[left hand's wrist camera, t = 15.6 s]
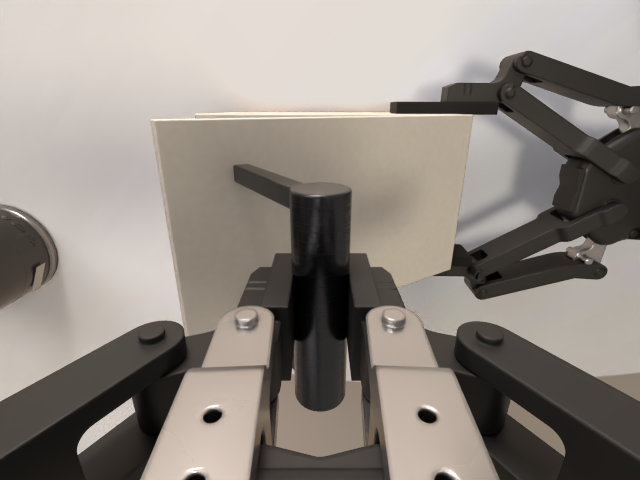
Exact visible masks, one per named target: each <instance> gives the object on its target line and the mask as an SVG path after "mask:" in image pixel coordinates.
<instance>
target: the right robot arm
mask: <svg viewBox="0 0 640 480" xmlns="http://www.w3.org/2000/svg"><path fill="white" fill-rule="evenodd" d="M499 68H500V71H499V73H498V75H497V76H496V78H495V79H494V80H493V81H492V82H491V83H455V84H450V85H447V86H445V87H442V95H441V102H391V104H390V113H392V114H477V115H497V111H498V109H499V110H500V111H502V112H503V113H505V114H506V115H507V116H509V117H510V118H512V119H513V120H515V121H516V122H517V123H519V124H520V125H522V126H523V127H525V128H526V129H527V130H529V131H530V132H532V133H533V134H535V135H536V136H537V137H539V138H540V139H542V140H543V141H545V142H546V143H547V144H549V145H550V146H552V147H553V149H554V150H555V151H556V152H557V153H559V154H560V155H562V156H563V157H565V158H566V159H567V160H568V161H567V163H566V164H562V166H561V170H560V174H559V176H560V185H559V187H558V189H557V191H556V193H555V195H554V199H553V203H552V205H554V206H555V207H552V208H550V209H548V210H546V211H544V212H542V213H540V214H539V215H538V217H537V219H535V220H533V221H531V222H529V223H527V224H525V225H523V226H521V227H519V228H517V229H514V230H512V231H510V232H508V233H506V234H504V235H502V236H500V237H498V238H496V239H494V240H492V241H490V242H488V243H486V244H484V245H481V246H479V247H477V248H475V249H473V250H471V251H469V252H467V251H466V250H465V249H464V248H463V247H462V246H461V245H460V244H454V249H453V256H452V262H451V269H450V270H447V271H444V272H441V273H439V274H436V275H433V276H464V277H465V278H464V281H465V283H466V285H467V286H468V287H469V289H470V290H471V291H472V293H473V294H474V295H475V296H476V298H478V299H480V300H482V299H488V298H492V297H496V296H500V295H505V294H509V293H513V292H517V291H522V290H526V289H530V288H535V287H539V286H543V285H547V284H552V283H556V282H560V281H564V280H569V279H573V278H581V279H601V278H603V277H604V276H605V275H606V274H607V268H606V267H605V266H604V265H602V264H600V262H601V259H602V257H603V254H604V251H605V249H606V246H607V245H610V244H613V243H616V242H618V241H621V240H625V239H635V240H640V86H632V87H630V86H627V85H625V84H622V83H619V82H616V81H613V80H611V79H608V78H605V77H602V76H599V75H597V74H594V73H591V72H588V71H585V70H583V69H580V68H577V67H574V66H571V65H569V64H566V63H563V62H560V61H557V60H555V59H552V58H549V57H546V56H544V55H541V54H538V53H535V52H532V51H525V52H521V53H518V54H514V55H511V56H508V57H505V58H504V59H503V60H502V61H501V63H500V66H499ZM522 82H525V83H528V84H531V85H534V86H537V87H540V88H543V89H545V90H548V91H551V92H554V93H557V94H560V95H563V96H566V97H568V98H571V99H574V100H577V101H580V102H583V103H586V104H589V105H593V106H602V107H605V109H604V112H605V113H606V114H607V115H608V117H610V118H612V119H616V120H617V121H618V123H619V128H618V129H615V130H613V131H612V132H610V133H609V134H607V135H605V136H604V137H602V138H600V139H599V140H597V139H595V138H593V137H590V136H588V135H586V134H585V133H584V132H582V131H581V130H579V129H578V128H577V127H575V126H574V125H573V124H571V123H570V122H568V121H567V120H566V119H564V118H563V117H561V116H560V115H559V114H557V113H556V112H555V111H553V110H552V109H550V108H549V107H548V106H546V105H545V104H543V103H542V102H541V101H539V100H538V99H536V98H535V97H534V96H532V95H531V94H530V93H528V92H527V91H525V90H524V89H523V88H521V87H520V86H521V84H522ZM581 236H584V237H585V238H586V241H585V242H584V243H583V244H582V245H580V246H576V247H568V248H567V249H566V252H555V253H549V254H545V255H541V256H537V257H533V258H529V259H525V260H522V259H524V258H526V257H528V256H530V255H533V254H535V253H537V252H539V251H541V250H543V249H546V248H548V247H550V246H552V245H554V244H556V243H558V242H568V241H572V240H574V239H577V238H579V237H581ZM520 260H521V261H520Z"/></svg>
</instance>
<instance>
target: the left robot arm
mask: <svg viewBox="0 0 640 480" xmlns="http://www.w3.org/2000/svg"><path fill="white" fill-rule="evenodd" d="M56 266H57V254H56V250H55V246H54V244H53V242H52V240H51V238H50V236H49V235H48V233H47V232H46V231H45V229H44V228H43V227H42V226H41V225H40V224H39V223H38V222H37V221H36V220H35V219H33V218H32V217H31V216H29V215H28V214H26V213H24V212H22V211H20V210H18V209H16V208H13V207H9V206H5V205H0V309H2V308H4V307H5V306H7V305H9V304H10V303H12V302H14V301H15V300H17V299H19V298H20V297H22V296H23V295H25V294H27V293H28V292H30V291H32V292H34V291H35V290H37V289H39V288H40V287H41V286H42V285H43V284H45V283H46V282H48V281H49V280H50V279H51V277H52V276H53V274H54V272H55V270H56ZM294 344H295V325H294V291H293V274H292V267H291V253H276V254H275V257H274V260H273V263H272V267H259V268H258V269H257V270H255V271H254V272H253V273H251V275H250V277H249V280H248V283H247V285H246V287H245V290H244V292H243V294H242V297H241V299H240V302H239V304H238V306H237V308H235V309H232V310H230V311H228V312H226V313H225V314H224V315H222V317H221V318H220V319H219V321H218V324H217V327H216V329H215V330H213V331H210V332H206V333H202V334H197V335H191V336H186V337H185V333H184V328H183V327H182V326H181V325H180V324H179V323H176V322H173V321H156V322H151V323H147V324H144V325H142V326H139V327H137V328H135V329H133V330H131V331H129V332H128V333H126V334H124V335H122V336H120V337H118V338H116V339H115V340H113V341H111V342H109V343H107V344H105V345H104V346H102V347H100V348H98V349H96V350H94V351H93V352H91V353H89V354H87V355H85V356H83V357H82V358H80V359H78V360H76V361H74V362H72V363H71V364H69V365H67V366H65V367H63V368H61V369H60V370H58V371H56V372H54V373H52V374H50V375H48V376H47V377H45V378H43V379H41V380H39V381H37V382H36V383H34V384H32V385H30V386H28V387H26V388H25V389H23V390H21V391H19V392H17V393H15V394H14V395H12V396H10V397H8V398H6V399H4V400H3V401H1V402H0V480H640V402H639V401H637V400H636V399H634V398H632V397H630V396H628V395H626V394H625V393H623V392H621V391H619V390H617V389H615V388H614V387H612V386H610V385H608V384H606V383H604V382H603V381H601V380H599V379H597V378H595V377H593V376H592V375H590V374H588V373H586V372H584V371H582V370H581V369H579V368H577V367H575V366H573V365H571V364H569V363H568V362H566V361H564V360H562V359H560V358H558V357H557V356H555V355H553V354H551V353H549V352H547V351H546V350H544V349H542V348H540V347H538V346H536V345H535V344H533V343H531V342H529V341H527V340H525V339H524V338H522V337H520V336H518V335H516V334H514V333H512V332H511V331H509V330H507V329H505V328H503V327H500V326H498V325H495V324H491V323H487V322H467V323H464V324H462V325H461V326H460V327H459V328H458V330H457V336H451V335H446V334H441V333H436V332H432V331H429V330H427V329H424V327H423V324H422V321H421V319H420V318H419V317H418V316H417V315H416V314H415V313H414V312H412V311H410V310H408V309H406V308H405V306H404V303H403V301H402V299H401V296H400V294H399V292H398V290H397V287H396V285H395V283H394V280H393V277H392V275H391V273H389V272H388V271H387V270H385V269H384V268H383V267H370V263H369V260H368V257H367V254H366V253H350V267H349V283H348V314H347V344H348V353H349V362H350V370H351V379H352V381H361V384H362V399H361V407H362V423H363V438H364V447H361V448H357V449H353V450H349V451H345V452H342V453H337V454H333V455H329V456H325V457H315V456H311V455H307V454H303V453H299V452H295V451H291V450H287V449H283V448H279V447H276V438H277V422H278V407H279V399H278V394H279V392H280V387H281V381H286V380H288V381H289V380H291V372H292V363H293V353H294ZM131 397H132V400H133V404H134V408H135V413H133V414H132V415H131V416H129V417H128V418H127V419H125V420H124V421H123V422H121V423H120V424H119V425H117V426H116V427H115V428H113V429H112V430H111V431H109V432H108V433H107V434H105V435H104V436H103V437H101V438H100V439H99V440H97V441H96V442H95V443H93V444H92V445H91V446H89V447H88V448H87V449H85V450H84V451H83V452H81V453H80V454H79V455H77V446H78V443H79V440H80V439H81V437H82V436H83V434H84V433H85V432H86V431H87V430H88V429H89V428H90V427H91V426H92V425H93V424H95V423H96V422H98V421H99V420H100V419H102V418H103V417H105V416H106V415H107V414H109V413H110V412H112V411H113V410H115V409H116V408H117V407H119V406H120V405H122V404H123V403H124V402H126V401H127V400H129V399H130V398H131ZM510 400H513V401H514V402H516V403H517V404H518V405H520V406H521V407H523V408H524V409H526V410H527V411H528V412H530V413H531V414H533V415H534V416H535V417H537V418H538V419H540V420H541V421H542V422H544V423H545V424H547V425H548V426H550V427H551V428H552V429H553V430H554V431H555V432H556V433H557V434H558V435H559V437H560V438H561V440H562V442H563V444H564V446H565V451H566V453H565V457H564V456H563V455H561V454H560V453H559V452H557V451H556V450H555V449H553V448H552V447H551V446H549V445H548V444H547V443H545V442H544V441H542V440H541V439H540V438H539V437H537V436H536V435H535V434H533V433H532V432H531V431H529V430H528V429H527V428H525V427H524V426H523V425H521V424H520V423H518V422H517V421H516V420H515V419H513V418H512V417H511V416H509V415H508V414H507V412H508V408H509V404H510Z"/></svg>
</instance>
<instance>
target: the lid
mask: <svg viewBox="0 0 640 480" xmlns="http://www.w3.org/2000/svg"><path fill="white" fill-rule="evenodd" d="M472 120H473V115H401V116H335V117H270V118H205V119H151V127H152V134H153V140H154V146H155V152H156V158H157V165H158V171H159V177H160V183H161V189H162V196H163V202H164V208H165V214H166V220H167V227H168V233H169V239H170V245H171V251H172V258H173V264H174V270H175V276H176V282H177V289H178V295H179V301H180V307H181V313H182V320H183V326H184V332H185V337H186V336H191V335H197V334H202V333H206V332H210V331H213V330H215V329H216V327H217V324H218V321H219V319H220V318H221V317H222V315H224V314H225V313H226V312H228V311H230V310H232V309H235V308H237V306H238V304H239V302H240V299H241V297H242V294H243V292H244V290H245V287H246V285H247V283H248V280H249V277H250V275H251V273H253V272H254V271H255V270H257V269H258V268H259V267H272V263H273V260H274V257H275V254H276V253H291V267H292V274H293V291H294V325H295V344H294V353H293V363H292V368H293V369H294V370H295V394H296V398H297V400H298V401H299V403H300V404H301V405H302V406H304V407H305V408H307V409H309V410H313V411H328V410H331V409H333V408H335V407H337V406H338V405H339V404H340V403H341V402H342V400H343V398H344V396H345V382H346V353H347V314H348V283H349V267H350V253H366V254H367V257H368V260H369V263H370V267H383V268H384V269H385V270H387V271H388V272H389V273H391V275H392V277H393V280H394V283H395V285H396V287H397V288H398V287H401V286H404V285H407V284H410V283H413V282H416V281H418V280H421V279H424V278H427V277H430V276H433V275H436V274H439V273H441V272H444V271H447V270H450V269H451V262H452V256H453V249H454V242H455V235H456V229H457V222H458V215H459V208H460V202H461V195H462V188H463V181H464V175H465V168H466V161H467V154H468V147H469V141H470V134H471V127H472Z"/></svg>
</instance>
